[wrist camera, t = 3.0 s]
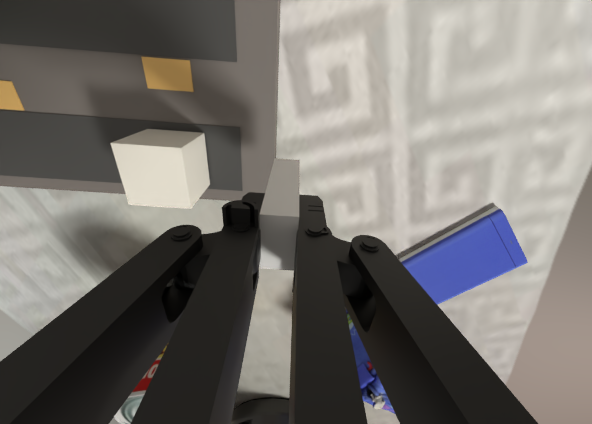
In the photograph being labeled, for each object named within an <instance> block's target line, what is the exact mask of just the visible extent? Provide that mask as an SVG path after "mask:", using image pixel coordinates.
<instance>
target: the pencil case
mask: <svg viewBox="0 0 592 424" xmlns="http://www.w3.org/2000/svg"><path fill="white" fill-rule="evenodd" d="M346 312H347V318H348V323H349V328H350V334H351V339H352V344H353V350H354V355H355V360H356V365H357V371H358V376H359V381H360V387H361V392H362V397H363V401H365V402H367V403H369V404H371V405H373V408H374V409H380V408H382V409H385V410H389V411H391V412H393V413H394V414H395V412H394V409H393V407H392V405H391V403H390V401H389V399H388V397H387V395H386V392H385V390H384V388H383V386H382V384H381V382H380V380H379V377H378V375H377V373H376V371H375V369H374V367H373V365H372V363H371V360H370V358H369V356H368V354H367V352H366V350H365V348H364V346H363V343H362V341H361V339H360V337H359V335H358V333H357V331H356V329H355V326H354V324H353V322H352V320H351V318H350V316H349V314H348V311H347V309H346Z"/></svg>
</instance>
